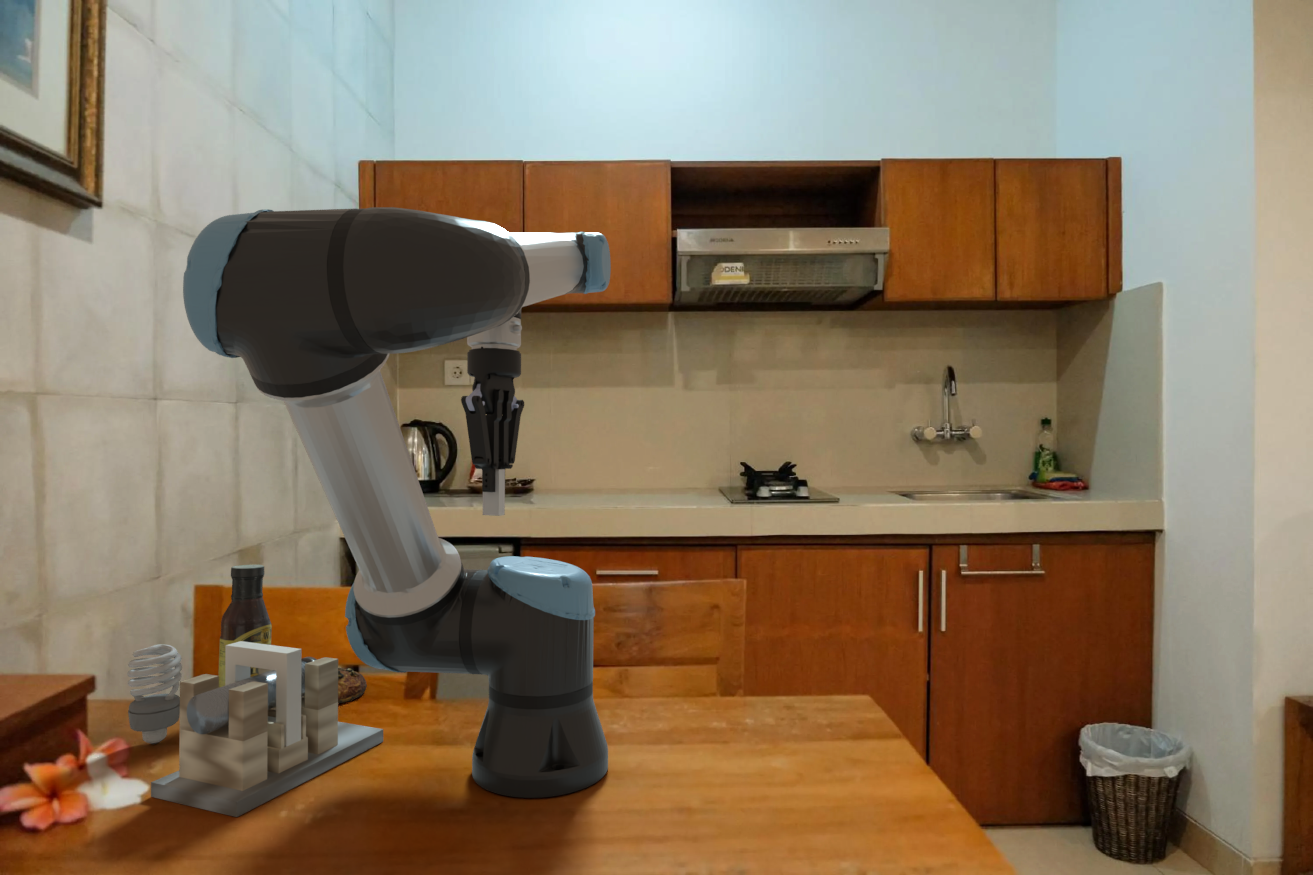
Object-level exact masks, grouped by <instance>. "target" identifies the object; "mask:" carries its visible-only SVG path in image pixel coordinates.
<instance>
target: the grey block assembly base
mask: <svg viewBox="0 0 1313 875" xmlns="http://www.w3.org/2000/svg"><path fill="white" fill-rule="evenodd" d="M338 668H339V658H333V657H321V658H318V659H317V660H315V661H312V662H309V663H306V664H305V697H301V740H300V741H298V742H296V743H293V744H291V745H289V746H287V747H286V746H284V724H280V723H274V722H269V721H268V716H270V717H276V707H274V708H272V709H269V710H268V683H262V682H255V681H253V682H250V683H247V684H244V685H241V686H238V687H235V688H232V689H229V725H228V726H225V727H222V728H220V729H217V730H215V731H212V732H209V733H207V734H198V733H196V732H195V731H194V730H193V729H192V728H191V726H190V724H189V722H188V719H187V706H188V703H189V701H190V699H191V698H192V697H194V696H195V695H198V694H201V693H204V692H207V691H210V690H213V689H217V688H219V675H215V674H208V673H205V674H204V673H203V674H200V675H197V676H193V677H191V678H188V679H185V680H180V681H179V697H180V715H179V746H178V747H179V752H178V753H179V755H178V757H179V760H178V761H179V764H178V765H179V767H178V768H179V770H177V771H175V772H172V773H170V774H167V775H165V776H162V777H160V778H158V779H155V780H152V781H151V782H150V797H151V798H155V799H157V800H158V799H160V800H162V801H163V800H164V801H167V802H172V803H176V804H180V805H184V806H189V807H192V808H196V809H201V810H206V811H209V812H213V813H217V814H223V815H226V816H230V817H234V818H238V817H240V816H242V815H244V814H246V813H247V812H250V811H251V810H253V809H255V808H257V807H259V806H261V805H263V804H265V803H267V802H269V801H271V800H272V799H275V798H277V797H279V796H281V795H283V794H284V793H287V792H289V791H290V790H292V789H294V788H296V787H298V786H300V785H302V784H303V783H305V782H308V781H310V780H311V779H313V778H315V777H317V776H319V775H321V774H323V773H325V772H327V771H329V770H331V769H332V768H335V767H337V766H338V765H341V764H342V763H344V762H347V761H348V760H351V759H352V758H354V757H356V756H358V755H360V754H362V753H364V752H366V751H368V750H369V749H372V748H373V747H375V746H377V745H379V744H381V743H383V742H384V729H383V728H379V727H371V726H366V725H361V724H355V723H348V722H343V721H342V722H341V721H339V704H338ZM268 671H271V670H269V669H262V668H259V674H262V673H265V672H268Z"/></svg>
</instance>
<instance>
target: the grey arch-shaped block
mask: <svg viewBox="0 0 1313 875" xmlns="http://www.w3.org/2000/svg"><path fill="white" fill-rule="evenodd" d="M302 652H303V651H302V648H296V647H289V646H282V645H281V646H280V645H275V644H271V645H267V644H259V643H252V642H244V641H239V642H236V643H232V644H228V645H226V650H225V686H226V685H229V684H232V683H235V682H238V681H241V680H244V679H247V678H250V667H255V668H262V669H269V670H276V717H270V716H268V721H269V722H274V723H280V724H284V746H286V747H287V746H289V745H291V744H293V743H296V742H298V741H300V740H301V659H302Z"/></svg>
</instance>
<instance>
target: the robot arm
mask: <svg viewBox="0 0 1313 875" xmlns="http://www.w3.org/2000/svg"><path fill="white" fill-rule="evenodd" d="M610 251H611V250H610V244H609V242H608V240H607V237H606V236H605V234H602V233H600V232H585V231H579V232H514V231H513V232H509V231H507V230H506V229H505V228H503V227H501V226H500V225H498V224H496V223H494V222H490V221H486V220H478V219H469V218H464V217H460V216H459V217H458V216H454V215H448V214H441V213H435V212H430V211H424V210H419V209H410V208H402V207H396V206H395V207H394V206H390V207H383V206H382V207H380V206H379V207H375V206H374V207H373V206H372V207H367V208H335V209H333V208H332V209H331V208H330V209H303V210H300V209H299V210H273V209H259V210H257V211H254V212H248V213H247V212H246V213H237V214H229V215H223V216H220V217H218V218H216V219H214V220H212V221H211V222H209V223H208V224H207V225H206V226H205V227H204V228H203V229H202V230H201V231H200V232H199V234H198V235H197V236H196V238H195V240H194V241H193V244H192V245H191V247H190V249H189V252H188V255H187V256H186V257H187V258H186V267H185V270H184V272H183V282H182V297H183V304H184V310H185V314H186V317H187V320H188V323H189V326H190V329H191V330H192V332H193V334H194V336H195V337H196V339H197V340H198V341H199V343H200V344H201V345H202V346H203V347H204V348H205V349H207V350H208V351H210V352H213V353H215V354H217V355H219V356H222V357H225V358H231V359H236V358H241V359H242V360H243V362H244V364H245V367H246V368H247V371H248V373H249V375H250V377H251V379H252V381H253V384H254V385H255V387H256V389H257V390H258V391H259V393H261V394H263V395H264V396H265V397H268V398H270V399H274V400H278V401H281V402H284V405H285V407H286V409H287V412H288V414H289V416H290V419H291V420H292V423H293V425H294V428H295V429H296V432H297V434H298V436H299V439H300V441H301V443H302V445H303V449H305V452H306V455H307V456H308V459H309V461H310V463H311V466H312V467H313V470H314V472H315V474H316V476H317V478H318V480H319V483H320V485H321V488H322V490H323V493H324V494H325V497H326V499H327V501H328V503H329V506H330V508H331V510H332V512H333V514H334V517H335V518H336V520H337V523H338V526H339V527H340V530H341V532H342V534H343V537H344V539H345V541H346V543H347V545H348V548H349V549H350V552H351V555H352V557H353V559H354V561H355V562H356V563H355V564H356V566H357V568H358V571H357V573H356V575H355V578H354V580H353V583H352V585H351V587H350V589H349V592H348V595H347V598H346V602H345V603H346V604H345V610H344V611H345V612H344V613H345V614H344V617H345V618H346V619H347V621H348V622H347V623H348V624H347V625H346V626H345V631H346V636H347V639H348V642H349V644H350V645H349V646H350V647H351V649H352V651H353V652H354V654H355V656H356V657H357V658H358V659H359V660H360V661H361V662H362V663H363V664H365V665H366V666H369V667H371V668H374V669H378V670H386V671H390V672H393V673H404V674H405V673H409V672H412V673H413V672H414V673H415V672H416V673H435V674H436V673H439V674H442V673H443V674H466V675H467V674H468V675H469V674H470V675H480V676H481V675H484V676H488V704H487V708H486V711H485V713H484V716H483V720H482V722H481V727H480V728H479V731H478V736H477V737H476V738H477V739H476V741H475V745H474V748H473V750H472V757H471V758H472V759H471V760H472V761H471V767H472V768H471V774H472V775H471V776H472V779H473V780H474V782H475V784H477V785H478V786H479V787H481V788H482V789H484V790H485V791H489V792H491V793H494V794H497V795H501V796H506V797H512V798H513V797H514V798H527V799H528V798H531V799H533V798H534V799H536V798H549V797H557V796H558V797H559V796H561V795H563V796H564V795H567V794H568V795H569V794H572V793H574V792H579V791H581V790H584V789H587V788H588V787H591V786H592V785H594V784H596V783H598V782H599V781H600V780H602V778H604V777H605V775H606V774H607V771H608V769H609V746H608V742H607V740H606V736H605V732H604V730H603V727H602V723H601V720H600V717H599V714H598V711H597V708H596V704H595V701H594V681H593V680H594V620H595V619H594V618H595V616H596V609H595V607H594V595H593V594H594V593H593V583H592V582H593V581H592V579H591V576H590V575H589V574H588V573H587V572H586V571H585V570H584V569H582V568H580V567H579V566H577V565H574V564H571V563H568V562H565V561H561V560H556V559H551V558H550V559H549V558H544V557H536V556H535V557H533V556H517V555H516V556H514V555H511V556H510V555H508V556H499V557H497V558H494V559H492V560H491V562H490V563H489V565H488V567H487V569H478V568H477V569H475V568H465V567H464V564H463V562H462V560H461V556H460V553H459V552H458V550H457V548H456V547H455V546H454V545H453V544H452V543H451V542H449V541H447V540H445V539H443V538H441V537H439V536H438V533H437V530H436V527H435V524H434V522H433V518H432V516H431V513H430V510H429V506H428V504H427V501H426V498H425V495H424V493H423V490H422V487H421V485H420V480H419V478H418V475H417V472H416V470H415V467H414V464H413V461H412V458H411V455H410V452H409V449H408V447H407V444H406V442H405V438H404V436H403V433H402V432H403V431H402V429H401V427H400V423H399V421H398V418H397V416H396V415H397V414H396V413H395V410H394V406H393V404H392V400H391V398H390V394H389V393H388V389H387V386H386V383H385V381H384V378H383V374H382V372H381V369H382V368H383V367H384V366H385V364H386V363H387V360H389V357H390V354H406V353H412V352H418V351H422V350H427V349H428V350H429V349H431V348H436V347H439V346H442V345H446V344H449V343H454V342H456V341H459V340H462V339H463V340H464V339H466V344H467V346H468V347H470V348H471V349H469V351H467V354H466V355H467V358H466V359H467V360H466V361H467V362H466V363H467V365H466V367H467V369H466V371H467V373H466V374H467V375H468V376H469V377H472V378H474V379H473V383H472V388H471V389H472V392H470V394H469V395H462V397H461V398H460V402H461V406H462V407H463V410H464V413H465V419H466V428H467V429H466V430H467V434H468V442H469V449H470V457H471V463H472V465H474V467H475V469H476V470H481V473H482V474H481V479H482V480H481V490H482V516H490V517H492V516H494V517H495V516H497V517H501V516H505V515H506V512H505V511H506V509H505V508H506V506H505V505H506V504H505V503H506V499H505V498H506V496H505V495H506V490H505V489H506V470H507V469H510V470H511V469H512V468H513V466H514V465H513V464H515V461H516V456H517V454H516V452H517V446H518V439H519V438H518V437H519V433H520V432H519V431H520V423H521V417H522V413H523V410H524V408H525V400H523V399H518V398H517V397H516V396H515V395H516V394H515V393H516V388H515V384H514V379H515V378H517V379H518V378H519V377H521V375H522V353H521V351H519V350H518V349H519V348H520V347H521V346H522V330H523V326H522V308H524V307H527V306H531V305H533V304H537V303H540V302H544V301H546V300H550V299H553V298H556V297H560V296H564V295H569V294H583V295H587V294H589V293H601V292H604V291H606V289H608V287H609V284H610V281H611V274H612V273H611V270H612V269H611V268H612V267H611V264H612V263H611V252H610Z"/></svg>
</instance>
